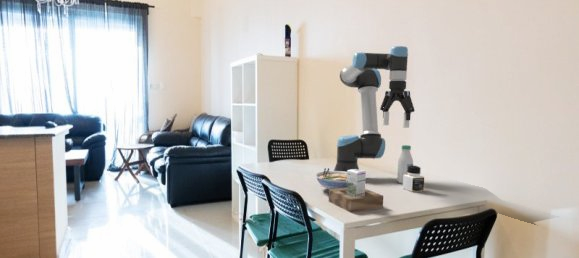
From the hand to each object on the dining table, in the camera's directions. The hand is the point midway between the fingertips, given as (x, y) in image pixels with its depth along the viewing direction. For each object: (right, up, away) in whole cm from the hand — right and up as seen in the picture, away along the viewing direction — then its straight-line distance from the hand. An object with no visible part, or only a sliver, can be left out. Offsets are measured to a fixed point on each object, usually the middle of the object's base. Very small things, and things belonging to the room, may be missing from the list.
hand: (395, 126), depth 168 cm
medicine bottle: (+11, -32, +10) cm, 35 cm away
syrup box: (-22, -33, -17) cm, 43 cm away
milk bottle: (+12, -30, +25) cm, 41 cm away
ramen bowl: (-26, -31, +5) cm, 41 cm away
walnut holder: (-22, -33, -17) cm, 43 cm away
